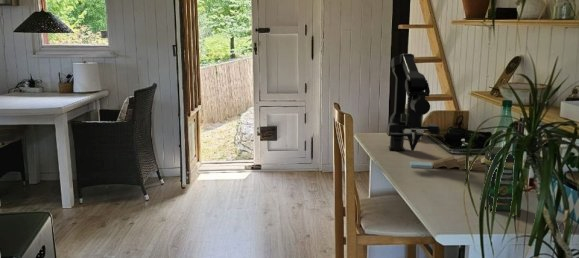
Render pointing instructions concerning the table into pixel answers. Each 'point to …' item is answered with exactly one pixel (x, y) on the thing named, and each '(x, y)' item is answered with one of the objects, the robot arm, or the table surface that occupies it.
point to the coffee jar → (505, 183)
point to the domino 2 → (444, 161)
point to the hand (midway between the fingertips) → (412, 150)
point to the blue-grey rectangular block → (421, 164)
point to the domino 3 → (457, 162)
